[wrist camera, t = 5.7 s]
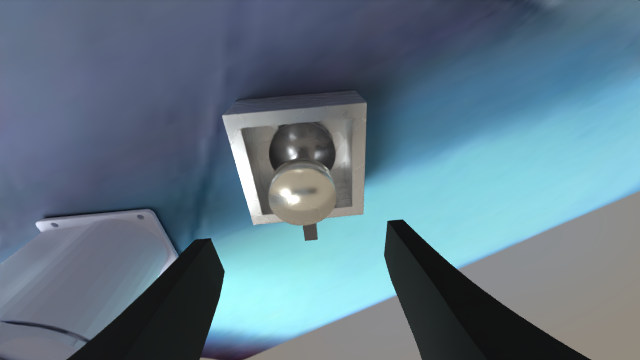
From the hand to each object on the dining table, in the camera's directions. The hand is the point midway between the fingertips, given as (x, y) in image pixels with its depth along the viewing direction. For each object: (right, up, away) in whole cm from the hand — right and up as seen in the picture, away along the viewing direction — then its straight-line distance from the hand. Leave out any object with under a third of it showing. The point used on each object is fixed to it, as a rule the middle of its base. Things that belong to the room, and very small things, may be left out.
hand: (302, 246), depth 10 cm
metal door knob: (-1, +5, +8) cm, 10 cm away
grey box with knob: (-1, +4, +9) cm, 10 cm away
